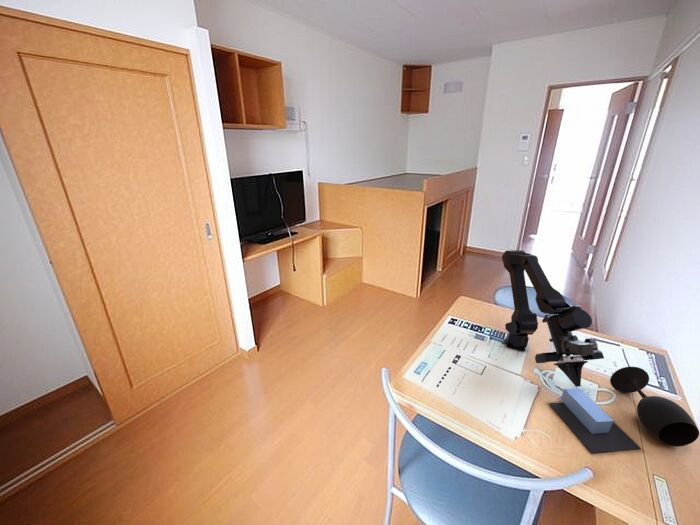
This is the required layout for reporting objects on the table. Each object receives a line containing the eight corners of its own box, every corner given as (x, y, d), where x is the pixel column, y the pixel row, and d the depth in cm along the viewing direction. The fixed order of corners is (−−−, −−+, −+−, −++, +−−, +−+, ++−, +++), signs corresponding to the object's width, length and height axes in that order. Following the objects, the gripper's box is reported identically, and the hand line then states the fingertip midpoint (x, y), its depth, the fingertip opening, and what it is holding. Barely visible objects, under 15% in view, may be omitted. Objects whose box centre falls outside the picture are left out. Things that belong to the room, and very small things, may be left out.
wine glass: (650, 365, 94) (706, 419, 76) (647, 391, 97) (700, 449, 79) (610, 367, 97) (655, 419, 78) (609, 392, 100) (652, 448, 82)
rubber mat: (548, 404, 94) (549, 403, 94) (590, 401, 95) (591, 400, 95) (591, 453, 79) (592, 452, 79) (640, 449, 80) (640, 448, 80)
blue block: (564, 388, 93) (596, 422, 82) (579, 387, 94) (613, 420, 83) (560, 399, 95) (591, 433, 84) (575, 398, 96) (608, 432, 85)
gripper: (551, 331, 89) (568, 388, 83) (609, 327, 91) (631, 384, 85) (527, 337, 99) (542, 388, 93) (580, 334, 101) (598, 384, 95)
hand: (578, 386), depth 91 cm, fingers closed
